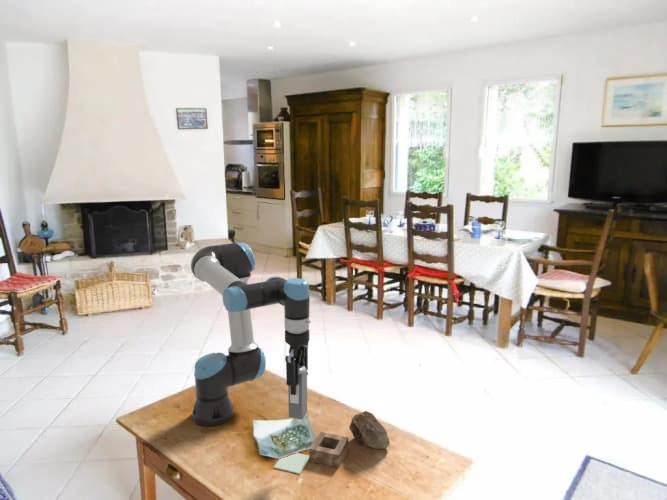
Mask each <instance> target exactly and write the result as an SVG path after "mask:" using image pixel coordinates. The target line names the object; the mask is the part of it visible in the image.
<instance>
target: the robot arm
mask: <svg viewBox="0 0 667 500" xmlns="http://www.w3.org/2000/svg"><path fill="white" fill-rule="evenodd" d="M190 269H191V272H192V274H193V275H194V277H195V278H196V279H198V281H200V282H204V283H205V282H206V283H207V284H208V285H209V286H210V287H212V288H213V289H214V290H215V291H216V292H218V293H219V294H220V295H221V296H222V303H223V306H224V307H225V310H226V311H227V316H228V325H229V333H230V334H229V335H230V343H231V345H230V346H229V347H228V349H227V351H228V354H227V355H226V354H225V353H223V352H210V353H208V354H205V355H203V356H201V357H199V358H198V359H197V361H196V362H195V364H194V380H195V381H194V382H195V392H196V393H195V396H196V399H195V402H194V405H193V409H192V420H193V422H194V423H195V424H197V425H199V426H203V427H213V426H215V427H216V426H219V425H221V424H225V423H226V422H228V421H230V420H231V419H232V417H233V416H234V412H235V411H234V404H233V402H232V401H231V398H230V395H229V388H230V387H233V386H236V385H240V384H243V383H247V382H252V381H255V380H256V379H260V378H261V377H262V376H263V375H264V374H265V371H266V362H267V360H266V355H265V352H264V350H263V349H262V348H261V347H259V345H258V344H259V343H257V342H255V340H254V332H253V331H254V330H253V323H252V313H251V310H253V309H256V308H261V307H266V306H272V305H276V304H279V305H281V306H283V307H284V341H285V343H286V344H288V345H289V349H288V353H289V355H286V356H285V358H284V360H285V367H286V368H285V370H286V371H285V372H286V373H285V374H286V376H285V377H286V380H285V381H286V385H287V386H288V385H289V386H290V403H296V404H299V384H298V372H299V365H301V366H305V368H306V369H307V376H309V372H308V370H309V365H308V363H309V361H308V360H309V358H308V357H309V353H308V350H309V342H310V324H311V320H310V295H311V293H310V292H311V291H310V285H309V282H308V280H306V279H304V278H297V277H295V278H289V279H285V278H283V277H280V276H277V275H274V276H270V277H268V278H267V279H266V280H265V281H261V282H255V283H249V284H248V281H249V280H250V278H251V277H252V276H251V275H252V274H251V273H252V272H253V271H254V270H255V269H256V257H255V255H254V252H253V250H252V248H251V247H250V245H248V244H247V243H245V242H231V243H224V244H216V245H207V246H204V247H203V248H201V249H199V250H198V251H197V252H196V253H195V254H194V255H193V257H192V259H191V263H190Z"/></svg>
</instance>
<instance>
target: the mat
mask: <svg viewBox="0 0 667 500" xmlns="http://www.w3.org/2000/svg"><path fill="white" fill-rule="evenodd" d="M295 453H296V454H293V455H290V456H288V457H285V458H281V457H280V458H281V459H280V458H279V459H278V460H277V462H275V464H274V466H273V469H276V470H279V471H280V470H281V471H284V472H289V473H293V474H297V475H301V473H302V471H303V470H304V468H305V467H306V465H307V464H308V461H310V454H309V455H308V454H303V453H300V452H295Z"/></svg>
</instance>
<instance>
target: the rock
mask: <svg viewBox="0 0 667 500" xmlns="http://www.w3.org/2000/svg"><path fill="white" fill-rule="evenodd" d="M349 430H350V432H351V434H352V436H353V438H354V439H355V441H356V442H357V444H359V445H363V446H364V447H370V448H373V449H376V450H385V449H387V448H388V447H389V446H390V445H391V444H390V443H391V442H390V438H389V437H388V434H387V433H388V431H387V430H386V428H385V426H383V425H382V423H381V422H380V421H379V420H378V419H377V418H376V416H375V415H374V414H373V413H372V412H370V411H367V410H365V411H361V412H360V413H357V414H354V416H353V417H352V418H351V422H350V424H349Z"/></svg>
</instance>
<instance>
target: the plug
mask: <svg viewBox="0 0 667 500" xmlns="http://www.w3.org/2000/svg"><path fill="white" fill-rule="evenodd" d="M307 372H308V370H307V369H306V368H305V366H301V365H299V372H298V384H299V404H296V403H290V386H289V385H287V387H288V418H292V419H297V420H303V419H304V418H305V416H306V414H307V413H308V375H307Z"/></svg>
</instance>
